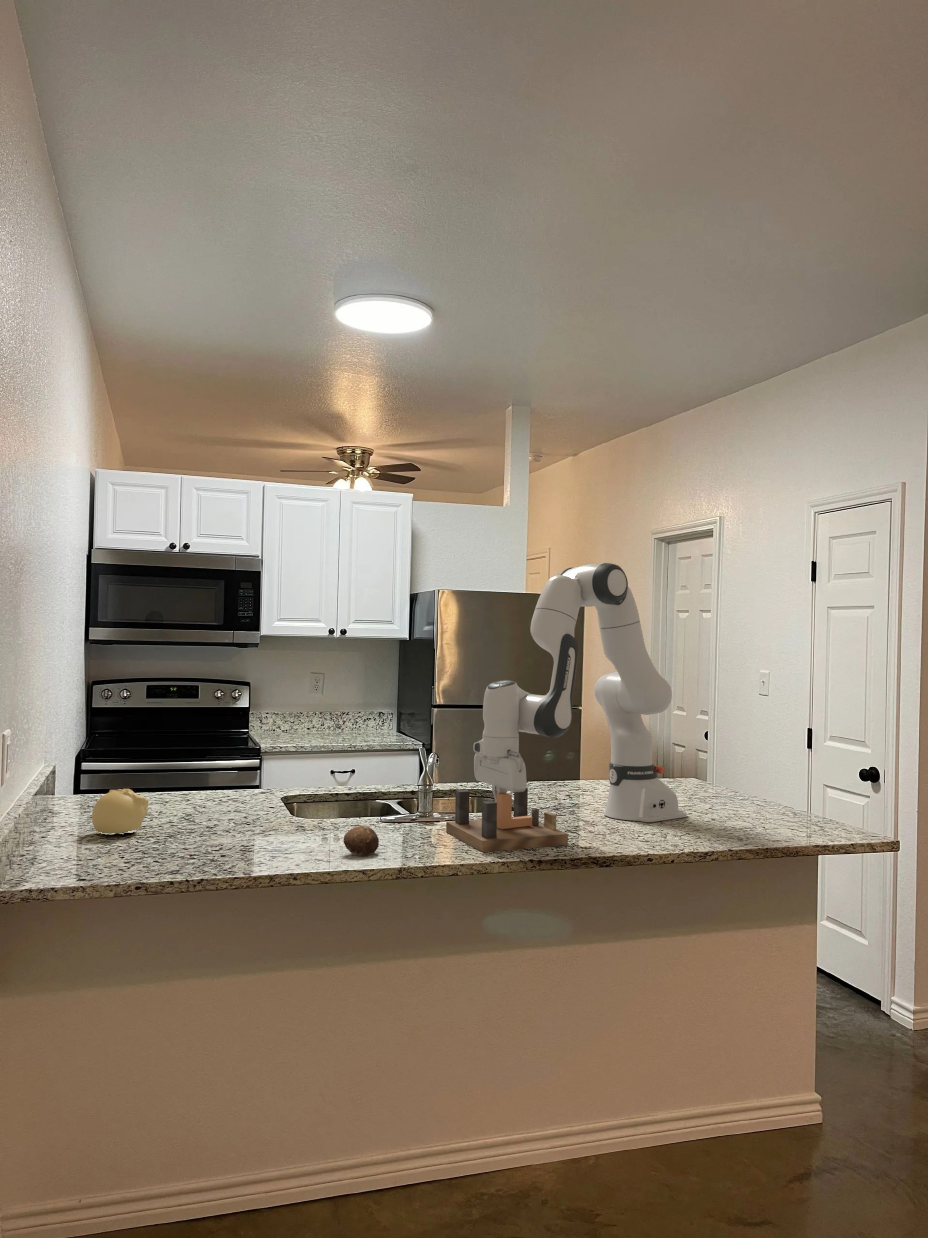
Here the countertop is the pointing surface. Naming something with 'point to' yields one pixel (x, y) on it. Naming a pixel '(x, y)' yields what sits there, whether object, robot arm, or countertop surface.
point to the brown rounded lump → (361, 840)
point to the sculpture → (119, 811)
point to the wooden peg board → (495, 839)
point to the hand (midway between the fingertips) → (499, 805)
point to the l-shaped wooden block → (509, 813)
